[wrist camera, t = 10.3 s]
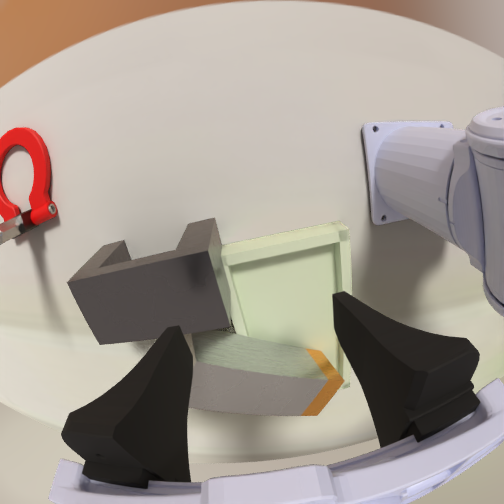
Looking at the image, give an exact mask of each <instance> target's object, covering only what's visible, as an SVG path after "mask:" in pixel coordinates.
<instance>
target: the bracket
mask: <svg viewBox="0 0 504 504" xmlns="http://www.w3.org/2000/svg"><path fill="white" fill-rule="evenodd" d="M221 251H222V244H221V240H220V236H219V232H218V228H217V224H216V220H215V218H211V219H207V220H203V221H198V222H194V223H190V224H188V226H187V228H186V230H185V232H184V234H183V236H182V238H181V240H180V242H179V244H178V246H177V248H176V250H173V251H169V252H164V253H160V254H156V255H151V256H147V257H143V258H139V259H134V260H131V258H130V255H129V253H128V250H127V247H126V244H125V242H124V240H123V241H119V242H115V243H112V244H108V245H104V246H103V247H102V248H101V249H100V250H99V251H97V252H96V253H95V254H94V255H93V256H92V257H91V258H90V259H89V260H88V261H87V262H86V263H85V264H84V265H83V266H82V267H81V268H80V269H79V270H78V271H77V273H76V274H75V275H74V276H73V277H72V278H71V279H70V280H69V281H68V282H67V283H68V286H69V288H70V290H71V292H72V294H73V296H74V298H75V300H76V302H77V304H78V306H79V308H80V310H81V312H82V314H83V316H84V318H85V320H86V321H87V323H88V325H89V327H90V329H91V330H92V332H93V334H94V336H95V337H96V339H97V341H98V342H99V344H100V345H104V344H114V343H123V342H132V341H141V340H149V339H156V338H159V337H160V336H161V334H162V333H163V332H164V331H165V330H166V328H167V327H172V326H178V325H179V326H180V328H181V330H182V333H183V335H184V334H191V333H197V332H203V331H209V330H215V329H221V328H226V327H231V291H230V287H229V284H228V280H227V276H226V273H225V269H224V265H223V262H222V258H221Z"/></svg>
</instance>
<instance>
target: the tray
mask: <svg viewBox="0 0 504 504" xmlns="http://www.w3.org/2000/svg"><path fill="white" fill-rule="evenodd" d="M221 258H222V262H223V265H224V269H225V273H226V276H227V280H228V284H229V287H230V291H231V318H232V321H233V325H234V328H235V331H236V334H239V335H243V336H248V337H252V338H257V339H261V340H266V341H271V342H276V343H281V344H286V345H291V346H296V347H302V348H307V349H313V350H319V351H322V353H323V354H324V355H325V356H326V358H327V359H328V360H329V362H330V363H331V364H332V365H333V367H334V368H335V369H336V370H337V372H338V373H339V374H340V375H341V377H342V378H343V379H344V380H345V381H344V383H343V384H342V385H341V387H340V388H339V389H338V390H341V389H345V388H348V387H350V374H351V365H350V363H349V361H348V359H347V357H346V355H345V353H344V351H343V349H342V348H341V346H340V343H339V341H338V338H337V335H336V333H335V330H334V321H333V301H332V294H334V293H338V292H342V291H345V292H347V293H349V294H350V295H352V273H351V251H350V236H349V229H348V228H347V227H346V226H345V225H344V224H342V223H341V222H340V221H336V222H331V223H327V224H322V225H317V226H312V227H307V228H302V229H297V230H293V231H288V232H283V233H278V234H273V235H269V236H264V237H259V238H255V239H250V240H245V241H241V242H236V243H231V244H227V245H222V251H221ZM338 390H337V391H338Z"/></svg>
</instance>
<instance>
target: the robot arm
mask: <svg viewBox="0 0 504 504" xmlns="http://www.w3.org/2000/svg"><path fill="white" fill-rule="evenodd" d="M440 125H441V128H440ZM374 126H375V127H376V132H374V131H373V127H374ZM362 133H363V139H364V146H365V154H366V162H367V170H368V180H369V191H370V204H371V219H372V222H373V223H374V224H375V225H382V224H387V223H391V222H396V221H401V220H406V219H411V220H413V221H415V222H417V223H419V224H420V225H422V226H424V227H426V228H427V229H429V230H431V231H432V232H434V233H436V234H437V235H439V236H441V237H442V238H444V239H446V240H447V241H449V242H451V243H452V244H454V245H455V246H457V247H459V248H460V249H462V250H464V251H465V252H466V253H467V254H468V256H469V258H470V264H471V265H472V266H474V267H475V268H477V269H478V270H479V271H481V272H482V273H483V288H484V293H485V295H486V298H487V300H488V302H489V303H490V305H491V306H492V307H493V308H494V309H495V310H496V311H497V312H498V313H499V314H500V315H502V316H504V106H503V107H497V108H492V109H489V110H485V111H483V112H480V113H478V114H477V115H475V116H474V117H473V119H472V121H471V123H470V124H469V125H468V126H467V128H466V130H465V129H453V125H452V123H451V122H444V121H399V122H376V123H365V124H364V125H363V127H362ZM383 215H384V216H385V217H384V219H383V220H381V218H382V216H383ZM332 301H333V321H334V330H335V333H336V335H337V338H338V341H339V343H340V346H341V348H342V349H343V351H344V353H345V355H346V357H347V359H348V361H349V363H350V365H351V366H352V368H353V370H354V372H355V374H356V376H357V378H358V380H359V382H360V384H361V386H362V389H363V392H364V394H365V397H366V400H367V403H368V406H369V409H370V412H371V415H372V418H373V421H374V425H375V428H376V431H377V435H378V439H379V443H380V447H381V448H380V449H377V450H375V451H372V452H369V453H367V454H363V455H360V456H357V457H355V458H351V459H348V460H345V461H341V462H338V463H334V464H330V465H327V466H324V465H314V464H312V465H304V466H297V467H292V468H286V469H281V470H275V471H268V472H261V473H253V474H243V475H233V476H221V477H214V478H210V479H208V480H206V481H204V482H198V483H197V482H195V483H193V482H191V478H190V470H189V459H188V443H187V416H188V407H189V400H190V393H191V386H192V378H193V355H192V353H191V351H190V348H189V346H188V344H187V342H186V339H185V337H184V335H183V333H182V330H181V328H180V326H179V325H178V326H172V327H167V328H166V330H165V331H164V332H163V333H162V334H161V336H160V337H159V338H158V340H157V341H156V342H155V343H154V345H153V346H152V347H151V348H150V350H149V351H148V352H147V353H146V355H145V356H144V357H143V358H142V359H141V360H140V361H139V363H138V364H137V365H136V366H135V367H134V368H133V369H132V370H131V371H130V372H129V373H128V374H127V375H126V376H125V377H124V378H123V379H122V380H121V381H120V382H118V383H117V384H116V385H115V386H113V387H112V388H111V389H110V390H108V391H107V392H106V393H104V394H103V395H102V396H100V397H99V398H97V399H95V400H94V401H92V402H91V403H89V404H87V405H85V406H83V407H81V408H79V409H77V410H75V411H73V412H71V413H69V416H68V418H67V420H66V423H65V425H64V428H63V430H62V433H61V436H62V439H63V440H64V442H65V443H66V444H67V445H68V446H69V447H70V448H71V449H72V450H74V451H75V452H76V453H77V454H78V455H80V456H81V457H82V458H83V459H84V460H86V461H85V464H84V465H82V464H80V463H77V462H73V461H69V460H65V459H60V462H59V464H58V467H57V471H56V474H55V477H54V481H53V484H52V487H51V491H50V494H49V500H50V501H51V502H53V503H55V504H408V503H410V502H412V501H414V500H416V499H418V498H420V497H422V496H424V495H426V494H428V493H430V492H431V491H433V490H435V489H436V488H438V487H440V486H441V485H443V484H445V483H447V482H448V481H450V480H451V479H453V478H454V477H456V476H458V475H459V474H461V473H462V472H464V471H465V470H466V469H468V468H469V467H471V466H472V465H474V464H475V463H476V462H478V461H479V460H481V459H482V458H483V457H485V456H486V455H487V454H489V453H490V452H491V451H493V450H494V449H495V448H496V447H498V446H499V445H500V444H501V443H502V442H503V441H504V385H503V383H502V382H501V381H500V379H499V378H496V379H495V380H493V381H492V382H491V383H489V384H488V385H486V386H485V387H483V388H482V389H481V390H479V391H478V393H477V394H476V395H475V393H474V392H473V391H472V389H473V388H474V385H473V383H472V382H471V381H470V380H471V378H472V376H473V374H474V372H475V370H476V367H477V365H478V362H479V356H480V354H479V352H478V350H477V349H476V348H475V347H474V346H473V345H472V344H471V342H470V341H469V340H468V339H467V338H459V337H449V336H443V335H438V334H433V333H429V332H425V331H422V330H418V329H415V328H412V327H409V326H406V325H404V324H402V323H399V322H397V321H395V320H392V319H390V318H388V317H386V316H384V315H383V314H381V313H379V312H377V311H375V310H374V309H372V308H370V307H369V306H367V305H365V304H364V303H362V302H361V301H359V300H358V299H356V298H355V297H353V296H352V295H350V294H349V293H347V292H345V291H342V292H338V293H334V294H332Z"/></svg>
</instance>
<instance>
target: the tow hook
mask: <svg viewBox="0 0 504 504" xmlns="http://www.w3.org/2000/svg"><path fill="white" fill-rule="evenodd" d="M16 145H21V146H23V147H24V148H25V149H26V150H27V151H28V152H29V154H30V156H31V158H32V162H33V167H34V182H33V187H32V191H31V193H30V195H29V202H30V205H31V208H32V209H31V210H28V211H26V212H23V213H21V214H20V212H19V208H18V206H17V205H14V204H12V203H11V202H10V201H9V200H8V199H7V198H6V196H5V194H4V192H3V189H2V185H1V167H2V163H3V160H4V158H5V156H6V154H7V153H8V151H9V150H10V149H11V148H12V147H14V146H16ZM50 175H51V169H50V158H49V155H48V151H47V147H46V145H45V143H44V141H43V139H42V138H41V136H40V135H39V134H38V133H37V132H36V131H34V130H32V129H30V128H14V129H12V130H9V131H8V132H7V133H6V134H4V135H3V136H2V137H1V139H0V215H1V216H2V217H3V218H4V222H3V223H1V224H0V245H1V244H3V243H4V242H6V241H8V240H10V239H14V238H16V237H18V236H20V235H21V234H23V233H25V232H27V231H29V230H31V229H33V228H35V227H37V226H39V224H41V223H43V222H45V221H47V220H49V219H51V218H53V217H55V216H56V215H57V207H56V205H55V203H54V202H53V201H50V198H49V194H48V190H49V186H50Z"/></svg>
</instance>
